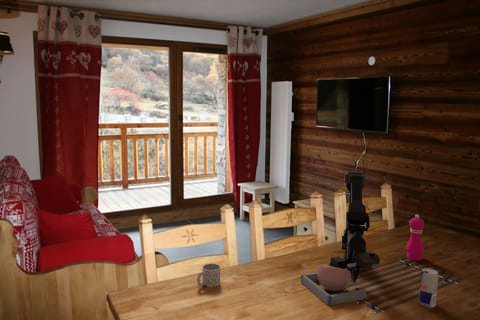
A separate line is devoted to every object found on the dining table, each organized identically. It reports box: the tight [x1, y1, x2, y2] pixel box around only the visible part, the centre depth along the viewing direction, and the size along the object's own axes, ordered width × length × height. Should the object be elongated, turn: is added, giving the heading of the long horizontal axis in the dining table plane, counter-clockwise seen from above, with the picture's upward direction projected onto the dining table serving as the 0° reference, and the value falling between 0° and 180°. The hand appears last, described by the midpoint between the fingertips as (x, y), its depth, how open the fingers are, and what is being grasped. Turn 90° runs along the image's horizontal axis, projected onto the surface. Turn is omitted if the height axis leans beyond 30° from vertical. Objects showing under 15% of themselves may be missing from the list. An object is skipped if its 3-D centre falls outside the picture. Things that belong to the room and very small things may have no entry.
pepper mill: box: [405, 214, 425, 262], centre depth 181 cm, size 7×7×20 cm
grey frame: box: [300, 271, 367, 306], centre depth 151 cm, size 19×15×3 cm
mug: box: [196, 263, 221, 288], centre depth 154 cm, size 10×7×7 cm
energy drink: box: [418, 267, 439, 309], centre depth 140 cm, size 5×5×12 cm
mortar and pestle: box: [316, 259, 351, 292], centre depth 150 cm, size 12×12×12 cm
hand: (353, 282), depth 154 cm, fingers closed
